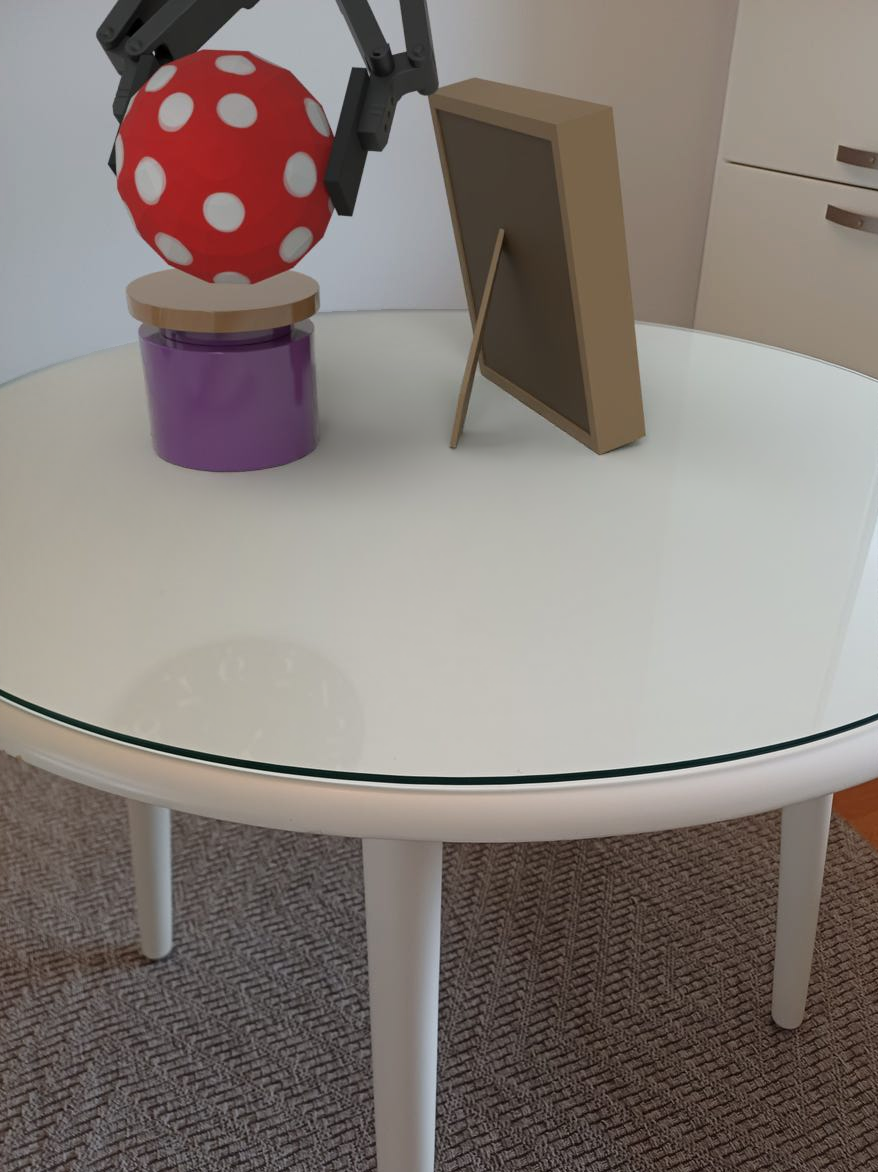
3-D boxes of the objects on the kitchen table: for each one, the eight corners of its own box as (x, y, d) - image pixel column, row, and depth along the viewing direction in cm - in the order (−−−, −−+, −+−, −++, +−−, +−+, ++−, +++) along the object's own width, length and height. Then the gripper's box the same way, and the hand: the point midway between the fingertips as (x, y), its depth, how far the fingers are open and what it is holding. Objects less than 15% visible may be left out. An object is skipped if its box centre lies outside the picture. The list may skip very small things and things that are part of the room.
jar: (112, 462, 84) (88, 301, 78) (193, 403, 96) (178, 258, 90) (288, 483, 82) (278, 318, 76) (349, 420, 94) (344, 272, 88)
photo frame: (521, 369, 107) (535, 76, 94) (644, 447, 90) (682, 105, 78) (375, 386, 101) (369, 78, 89) (478, 473, 85) (489, 109, 72)
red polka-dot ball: (226, 68, 65) (174, -38, 50) (387, 187, 66) (383, 117, 52) (123, 234, 66) (43, 178, 51) (284, 346, 68) (252, 322, 53)
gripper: (540, -93, 63) (466, 253, 58) (158, -105, 67) (58, 218, 62) (527, -227, 56) (441, 156, 50) (100, -230, 60) (-19, 123, 55)
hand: (230, 190), depth 56 cm, fingers closed on red polka-dot ball, 11 cm apart
